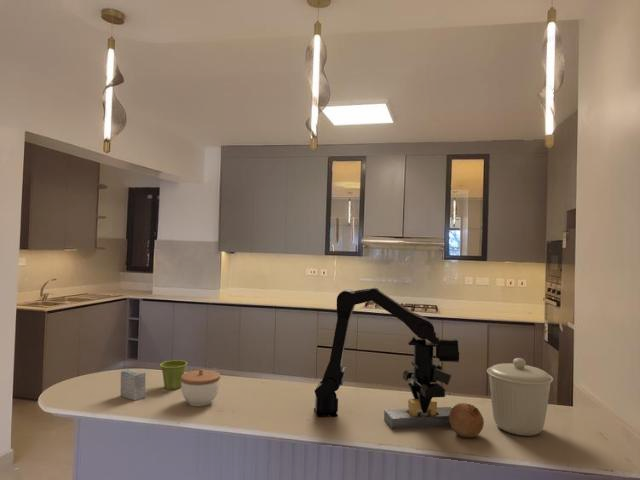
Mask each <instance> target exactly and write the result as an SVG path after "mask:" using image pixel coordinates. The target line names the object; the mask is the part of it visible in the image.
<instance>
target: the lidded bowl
mask: <svg viewBox="0 0 640 480" xmlns="http://www.w3.org/2000/svg"><path fill="white" fill-rule="evenodd" d="M220 378H221V373H219V372H218V371H215V370H212V369H211V370H210V369H202V368H200V369H198V370H191V371H187V372H184V374H183V375H182V376H181V392H182V396H183V399H185V401H186V402H188V404H189V405H190V406H192V407H204V406H207V405H210V404H212V401H213V400H214V399H215V398H216V396H217V395H218V393H219V389H220Z"/></svg>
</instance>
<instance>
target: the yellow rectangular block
mask: <svg viewBox="0 0 640 480" xmlns="http://www.w3.org/2000/svg"><path fill="white" fill-rule="evenodd" d="M407 402H408V403H407V406H408V409H409V415H410V416H417V415H418V410H422V409H421V406H420V402H419V399H414V398H408V401H407ZM437 407H438V401H437V400H436V399H435V398H432V399H431V401H430V404H429V407H428V410H427V413H428V414H429V415H436V410H437Z"/></svg>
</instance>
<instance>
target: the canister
mask: <svg viewBox="0 0 640 480" xmlns="http://www.w3.org/2000/svg"><path fill="white" fill-rule="evenodd" d="M486 373H487V374H488V378H489V388H490V399H491V408H492V416H493V420H494V423H495V424H496V425H497V427H498V428H500V429H501V430H502V431H504V432H507V433H510V434H512V435H516V436H517V435H518V436H525V437H526V436H527V437H528V436H536V435H538V434H540V433H541V432H542V431H543V429H544V426H545V421H546V416H547V411H548V404H549V398H550V397H549V396H550V391H551V384H552V382H553V381H554V378H553V376H552V375H550V374H549V372H546V370H543V369H541V368H539V367H536V366H531V365H528V364H527V363H526V360H525V359H524V358H521V357H516V358H514V359H512V363H509V362H508V363H498V364H494V365H492V366H489V367H488V368H487V369H486Z"/></svg>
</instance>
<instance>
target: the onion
mask: <svg viewBox="0 0 640 480" xmlns="http://www.w3.org/2000/svg"><path fill="white" fill-rule="evenodd" d="M451 408H452V410H451V411H450V414H449V422H450V423H451V426H450V427H451V430H452V431H454V432H455V434H457V435H458V436H460V437H461V438H475V437H476V436H478V435H479V434H480V433H481V432H482V431H483V428H484V425H485V421H484V417H483V415H482V413H481V412H480V410H479V408H478V407H476V406H474V405H473V404H469V403H465V402H461V403H460V402H459V403H457V404H456V405H454V406H453V407H451Z"/></svg>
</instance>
